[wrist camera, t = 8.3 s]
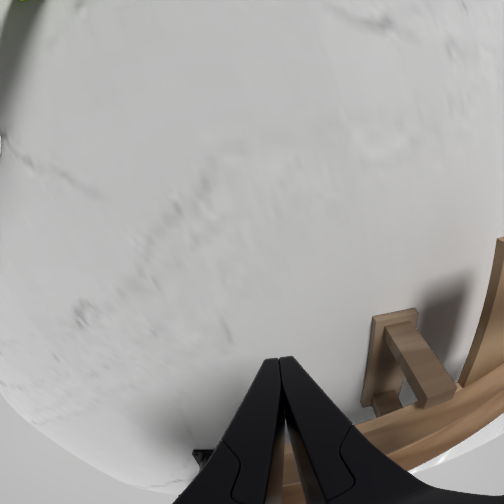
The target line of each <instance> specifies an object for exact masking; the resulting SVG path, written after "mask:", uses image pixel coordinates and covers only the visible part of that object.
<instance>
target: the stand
mask: <svg viewBox="0 0 504 504" xmlns="http://www.w3.org/2000/svg"><path fill="white" fill-rule="evenodd" d="M418 314H419V312H418V311H417V310H416V309H415V308H411V309H406V310H402V311H397V312H392V313H387V314H382V315H377V316H373V321H372V330H371V339H370V347H369V354H368V362H367V368H366V375H365V381H364V387H363V392H362V398H361V405H362V407H363V408H364V407H368V406H372V407H373V410H374V412H375V415H376V417H377V418H378V417H381V416H384V415H386V414H389V413H391V412H394V411H397V410H399V409H401V408H403V407H402V405H401V402H400V400H399V398H398V397H399V393H400V390H401V387H402V383H403V380H404V376H405V377H406V379H407V381H408V383H409V385H410V386H411V388H412V390H413V392H414V394H415V396H416V398H417V400H418V401H419V403H420V405H421V407H422V409H423V410H425V409H428V408H430V407H433V406H436V405H438V404H441V403H444V402H446V401H449V400H451V399H452V398H453V396H454V394H455V392H456V390H457V386H456V384H455V383H454V381H453V380H452V378H451V377H450V375H449V374H448V372H447V371H446V369H445V368H444V366H443V365H442V364H441V362H440V361H439V359H438V358H437V356H436V355H435V354H434V352H433V351H432V349H431V348H430V347H429V345H428V344H427V343H426V341H425V340H424V339H423V337H422V336H421V334H420V333H419V332H418V330H417V329H416V325H417V320H418Z"/></svg>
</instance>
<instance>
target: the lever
mask: <svg viewBox="0 0 504 504" xmlns="http://www.w3.org/2000/svg"><path fill="white" fill-rule="evenodd" d="M455 384H456V386H457V390H456V392H455V394H454V396H453V398H452V399H451V400H449V401H446V402H444V403H441V404H438V405H436V406H433V407H430V408H428V409H425V410H423V409H422V407H421V405H420V403H419V401H418V402H416V403H413V404H411V405H409V406H406V407H404V408H401V409H399V410H397V411H394V412H391V413H389V414H386V415H384V416H381V417H378V418H376V419H373V420H370V421H367V422H364V423H361V424H358V425H355V427H356V428H357V429H358V430H359V431H360V432H361V433H362V434H363V435H364V436H365V437H366V438H367V439H368V440H369V441H370V442H371V443H372V444H373V445H374V446H375V447H377V448H378V449H379V450H380V451H381V452H383V453H384V454H385V455H386V456H388V457H389V458H390V459H391V460H393V461H394V462H395V463H397V464H398V465H399V466H401V467H402V468H403V469H405V470H406V471H409V470H411V469H413V468H415V467H417V466H419V465H421V464H423V463H425V462H427V461H429V460H431V459H433V458H435V457H436V456H438V455H440V454H442V453H444V452H445V451H447V450H449V449H451V448H452V447H454V446H456V445H457V444H459V443H461V442H462V441H464V440H465V439H467V438H468V437H470V436H471V435H473V434H475V433H476V432H477V431H479V430H480V429H482V428H483V427H485V426H486V425H488V424H489V423H490V422H492V421H493V420H494V419H496V418H497V417H498V416H500V415H501V414H502V413H504V237H501V238H497V241H496V248H495V255H494V260H493V266H492V271H491V276H490V281H489V285H488V290H487V294H486V298H485V302H484V306H483V310H482V313H481V317H480V320H479V324H478V327H477V330H476V333H475V336H474V340H473V342H472V345H471V348H470V351H469V354H468V357H467V359H466V362H465V365H464V367H463V370H462V372H461V375H460V377H459V379H458V382H457V383H455ZM281 504H306V500H305V496H304V493H303V489H302V485H301V481H300V477H299V473H298V470H297V466H296V462H295V458H294V454H293V450H292V446H291V442H290V439H289V435H288V431H287V426H286V420H285V449H284V468H283V484H282V499H281Z"/></svg>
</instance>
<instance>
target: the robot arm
mask: <svg viewBox="0 0 504 504" xmlns="http://www.w3.org/2000/svg"><path fill="white" fill-rule="evenodd" d="M279 365H280V366H279ZM283 402H284V403H283ZM284 412H285V413H284ZM285 420H286V426H287V431H288V435H289V439H290V442H291V446H292V450H293V454H294V458H295V462H296V466H297V470H298V473H299V477H300V481H301V485H302V489H303V493H304V496H305V500H306V504H504V495H502V496H488V495H478V494H471V493H463V492H457V491H450V490H445V489H440V488H436V487H433V486H430V485H428V484H425V483H424V482H422V481H420V480H418V479H417V478H416V477H414V476H413V475H412V474H410V473H409V472H407V471H406V470H405V469H403V468H402V467H401V466H399V465H398V464H397V463H395V462H394V461H393V460H391V459H390V458H389V457H388V456H386V455H385V454H384V453H383V452H381V451H380V450H379V449H378V448H377V447H375V446H374V445H373V444H372V443H371V442H370V441H369V440H368V439H367V438H366V437H365V436H364V435H363V434H362V433H361V432H360V431H359V430H358V429H357V428H356V427H355V425H352V422H351V421H350V420H349V419H348V418H347V417H346V416H345V415H344V414H343V413H342V411H341V410H340V409H339V408H338V407H337V406H336V405H335V404H334V403H333V401H332V400H331V399H330V398H329V397H328V396H327V395H326V394H325V392H324V391H323V390H322V389H321V388H320V387H319V386H318V385H317V383H316V382H315V381H314V380H313V379H312V378H311V377H310V375H309V374H308V373H307V372H306V371H305V370H304V369H303V367H302V366H301V365H300V364H299V363H298V362H297V360H296V359H295V358H294V357H293V356H287V357H280V358H279V359H278V358H270V359H265V360H264V361H263V363H262V365H261V367H260V369H259V371H258V373H257V375H256V377H255V379H254V381H253V383H252V384H251V386H250V388H249V390H248V392H247V394H246V396H245V397H244V399H243V401H242V403H241V405H240V407H239V408H238V410H237V412H236V414H235V416H234V418H233V419H232V421H231V423H230V425H229V426H228V428H227V430H226V432H225V433H224V435H223V437H222V441H220V442H219V444H218V445H217V447H216V449H215V450H193V452H192V455H193V456H194V458H195V460H196V461H197V463H198V464H199V466H200V470H199V473H198V475H197V476H196V477H195V478H194V480H193V481H192V482H191V483H190V484H189V485H188V487H187V488H186V489H185V490H184V491H183V492H182V493H181V494H180V495H179V497H178V498H177V499H176V500H175V502H173V504H281V499H282V484H283V468H284V449H285Z"/></svg>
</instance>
